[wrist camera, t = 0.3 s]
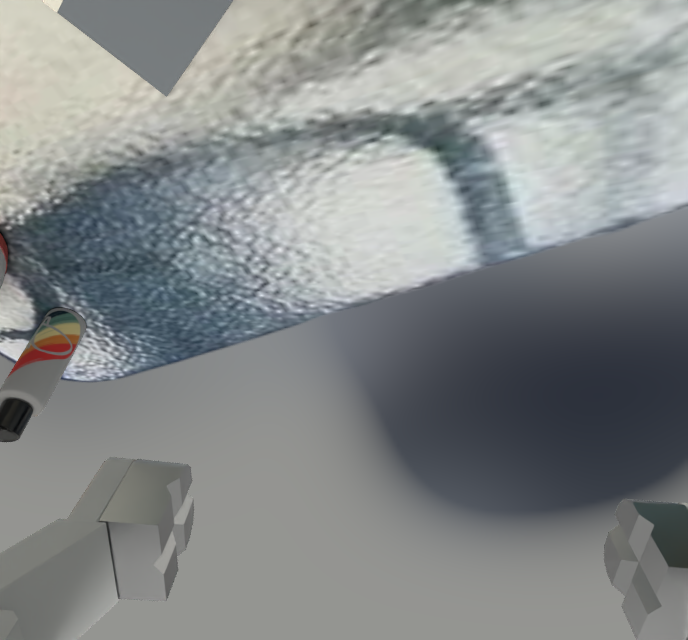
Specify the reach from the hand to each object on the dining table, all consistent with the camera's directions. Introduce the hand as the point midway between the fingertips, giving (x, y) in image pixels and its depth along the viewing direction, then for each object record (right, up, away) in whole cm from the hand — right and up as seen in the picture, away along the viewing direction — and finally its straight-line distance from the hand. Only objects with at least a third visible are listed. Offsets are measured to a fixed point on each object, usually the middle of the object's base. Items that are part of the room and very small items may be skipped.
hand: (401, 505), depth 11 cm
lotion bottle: (-41, +4, +72) cm, 84 cm away
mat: (-19, +33, +41) cm, 56 cm away
